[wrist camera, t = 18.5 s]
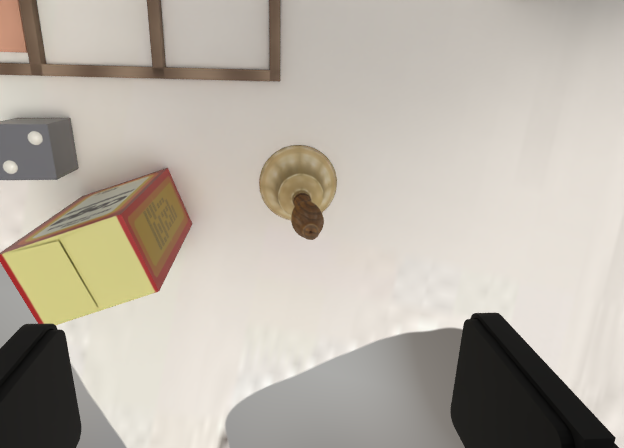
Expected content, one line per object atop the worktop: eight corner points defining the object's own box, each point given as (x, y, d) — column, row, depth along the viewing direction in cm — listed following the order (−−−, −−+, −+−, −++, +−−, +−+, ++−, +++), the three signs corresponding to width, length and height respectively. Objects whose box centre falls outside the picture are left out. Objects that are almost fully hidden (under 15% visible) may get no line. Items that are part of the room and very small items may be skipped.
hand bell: (245, 166, 48) (234, 212, 33) (316, 131, 47) (338, 161, 32) (281, 232, 50) (286, 302, 35) (348, 199, 50) (382, 257, 35)
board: (280, -71, 41) (280, -74, 40) (279, 81, 45) (280, 81, 44) (-130, -93, 38) (-140, -97, 37) (-89, 72, 42) (-97, 72, 41)
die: (70, 118, 44) (46, 124, 40) (78, 168, 46) (56, 179, 41) (17, 117, 44) (-14, 124, 39) (27, 168, 46) (-2, 180, 41)
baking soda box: (167, 167, 47) (119, 215, 32) (192, 224, 49) (157, 293, 34) (81, 196, 47) (-7, 257, 32) (110, 251, 49) (39, 332, 34)
